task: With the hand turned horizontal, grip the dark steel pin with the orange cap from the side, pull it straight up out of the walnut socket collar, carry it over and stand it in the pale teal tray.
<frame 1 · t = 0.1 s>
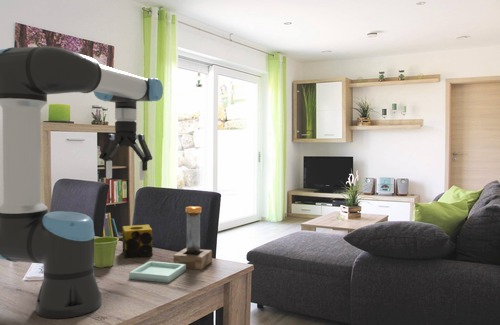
hand: (125, 179, 158), 28 cm above the table, tool pointing down, fingers open, 13 cm apart
plant pot: (104, 265, 145), on the table
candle: (137, 254, 161), on the table
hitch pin: (193, 235, 148), in the socket collar
socket collar: (193, 264, 148), on the table
tray: (158, 274, 136), on the table
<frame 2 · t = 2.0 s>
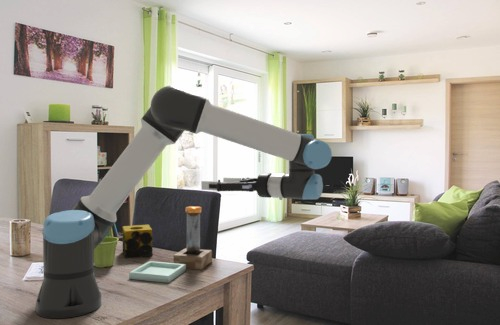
hand: (213, 183, 143), 28 cm above the table, tool horizontal, fingers open, 13 cm apart
nothing on the table moved.
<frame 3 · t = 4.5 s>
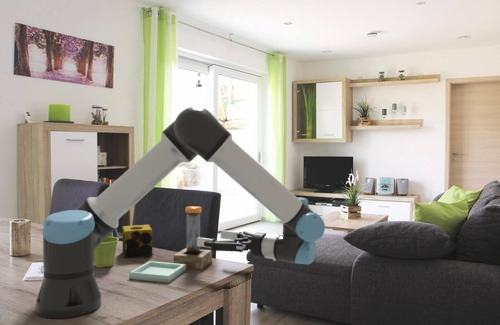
hand: (209, 237, 145), 10 cm above the table, tool horizontal, fingers open, 13 cm apart
nothing on the table moved.
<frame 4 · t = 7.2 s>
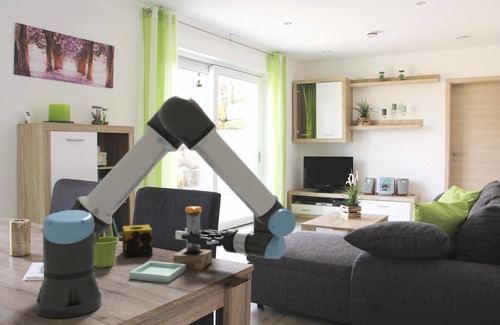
hand: (181, 233, 150), 10 cm above the table, tool horizontal, fingers closed on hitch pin, 4 cm apart
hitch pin: (193, 235, 148), in the socket collar, touching gripper
everything else where it was.
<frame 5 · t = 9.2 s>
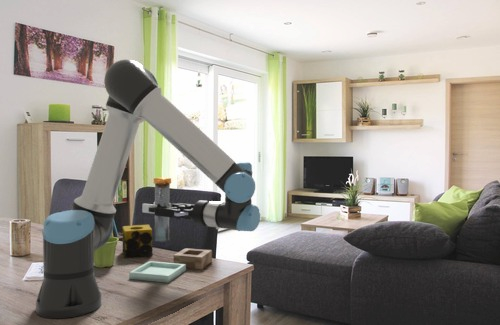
hand: (149, 206, 138), 21 cm above the table, tool horizontal, fingers closed on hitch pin, 4 cm apart
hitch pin: (162, 209, 136), point 20 cm above the table, touching gripper
everything else where it was.
when the fingers open (12 cm above the table, at t = 11.3 s): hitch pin stays where it is, resting on tray.
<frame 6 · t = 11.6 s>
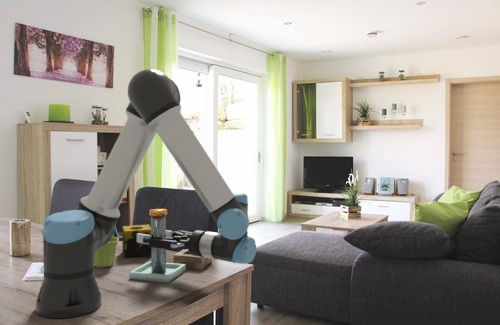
hand: (147, 235, 138), 12 cm above the table, tool horizontal, fingers open, 8 cm apart
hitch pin: (158, 240, 136), in the tray, point 11 cm above the table
everything else where it was.
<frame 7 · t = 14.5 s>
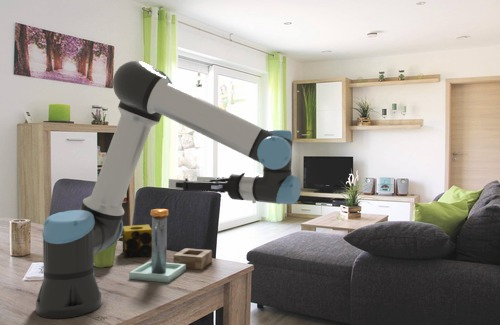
hand: (184, 181, 130), 30 cm above the table, tool horizontal, fingers open, 13 cm apart
nothing on the table moved.
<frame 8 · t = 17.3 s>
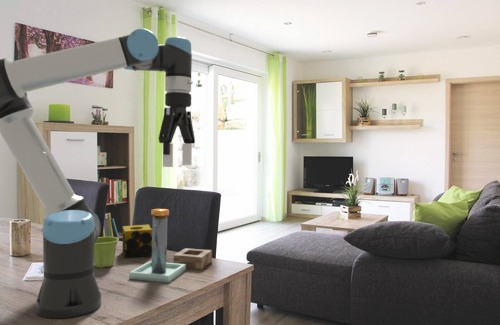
hand: (177, 165, 126), 35 cm above the table, tool pointing down, fingers open, 13 cm apart
nothing on the table moved.
at the end: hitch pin inside the target area on the tray (0.1 cm from its centre), point 10.6 cm above the tray's base; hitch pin touching tray; the gripper is holding nothing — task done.
